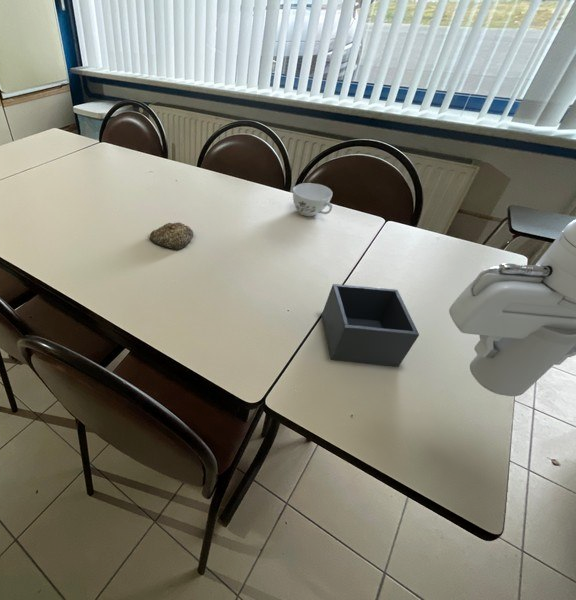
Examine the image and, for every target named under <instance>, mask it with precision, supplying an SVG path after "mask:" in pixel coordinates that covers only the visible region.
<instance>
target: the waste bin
mask: <svg viewBox="0 0 576 600" xmlns="http://www.w3.org/2000/svg"><path fill="white" fill-rule="evenodd" d="M320 317H321V321H322V325H323V330H324V334H325V338H326V343H327V347H328V352H329V356H330V360H332V361H340V362H349V363H359V364H367V365H377V366H385V367H394V368H395V367H396V368H399V367H400V365H401V364H402V363H403V361H404V359H405V358H406V356H407V355H408V353H409V351H410V350H411V348H412V347H413V346H414V344H415V343H416V341H417V339H418V338H419V336H420V332H419V330H418V329H417V327H416V325H415V322H414V321H413V319H412V317H411V314H410V312H409V310H408V309H407V306H406V304H405V302H404V300H403V298H402V296H401V294H400V292H399V290H398V289H396V288H383V287H372V286H361V285H350V284H339V283H333V284H332V286H331V288H330V291H329V293H328V296H327V299H326V302H325V305H324V307H323V310H322V313H321V315H320Z"/></svg>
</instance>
